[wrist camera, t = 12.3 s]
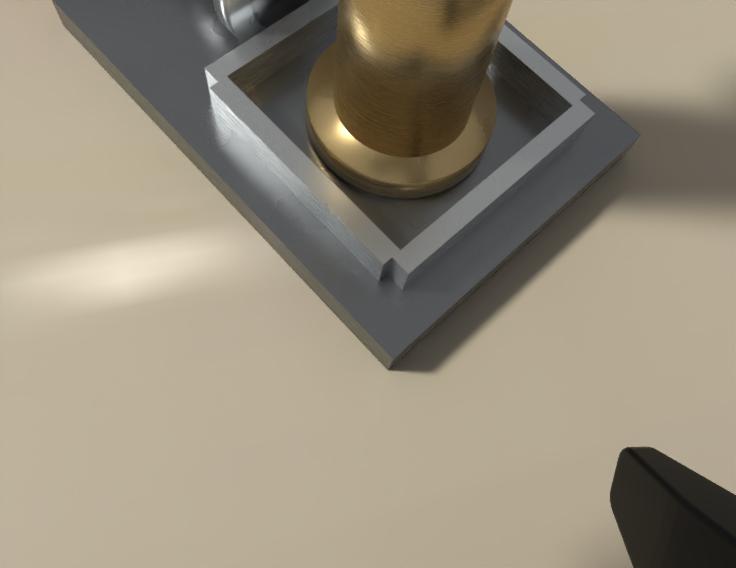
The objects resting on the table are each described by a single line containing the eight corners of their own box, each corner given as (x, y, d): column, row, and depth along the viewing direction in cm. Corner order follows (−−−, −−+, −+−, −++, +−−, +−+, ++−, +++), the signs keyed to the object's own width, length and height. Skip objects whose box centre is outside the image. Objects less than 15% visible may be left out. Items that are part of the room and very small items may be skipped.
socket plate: (623, 155, 28) (718, 41, 22) (387, 370, 24) (418, 307, 17) (312, -116, 32) (314, -279, 26) (63, 25, 28) (-9, -129, 21)
